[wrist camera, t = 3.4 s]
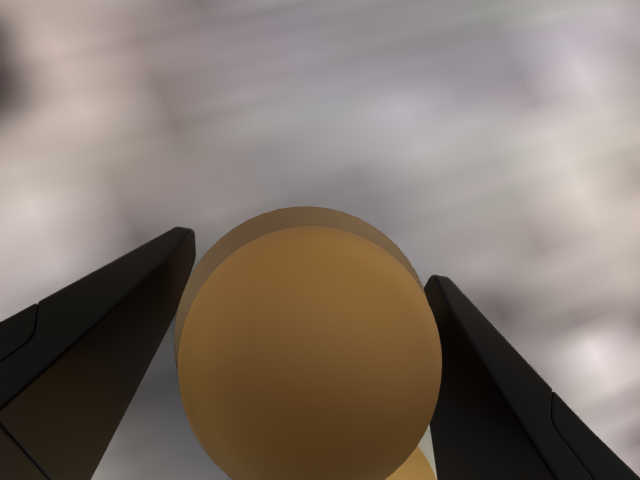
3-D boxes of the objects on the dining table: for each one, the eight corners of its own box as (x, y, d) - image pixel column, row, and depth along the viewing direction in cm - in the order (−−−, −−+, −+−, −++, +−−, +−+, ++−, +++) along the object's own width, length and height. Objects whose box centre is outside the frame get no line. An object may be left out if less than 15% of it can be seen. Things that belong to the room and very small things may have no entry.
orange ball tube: (305, 378, 15) (361, 805, 3) (220, 307, 15) (-74, 440, 3) (372, 292, 16) (649, 347, 4) (291, 224, 16) (290, 50, 4)
